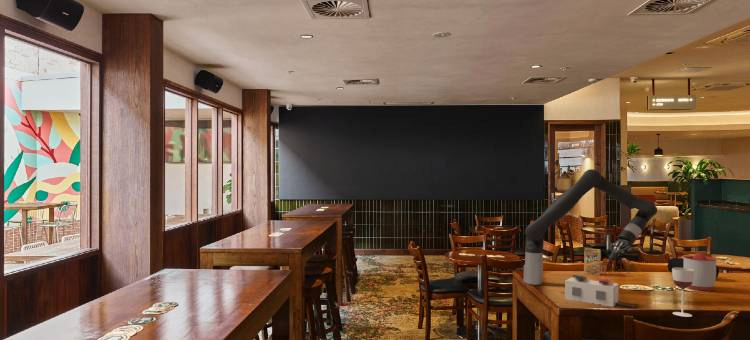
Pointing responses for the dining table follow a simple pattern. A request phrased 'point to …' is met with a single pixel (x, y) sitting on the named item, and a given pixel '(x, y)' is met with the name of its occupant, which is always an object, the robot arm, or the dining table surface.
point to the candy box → (592, 261)
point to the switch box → (592, 292)
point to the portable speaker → (682, 265)
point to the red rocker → (603, 280)
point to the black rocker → (579, 277)
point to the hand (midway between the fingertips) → (610, 259)
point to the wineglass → (682, 284)
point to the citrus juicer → (701, 271)
